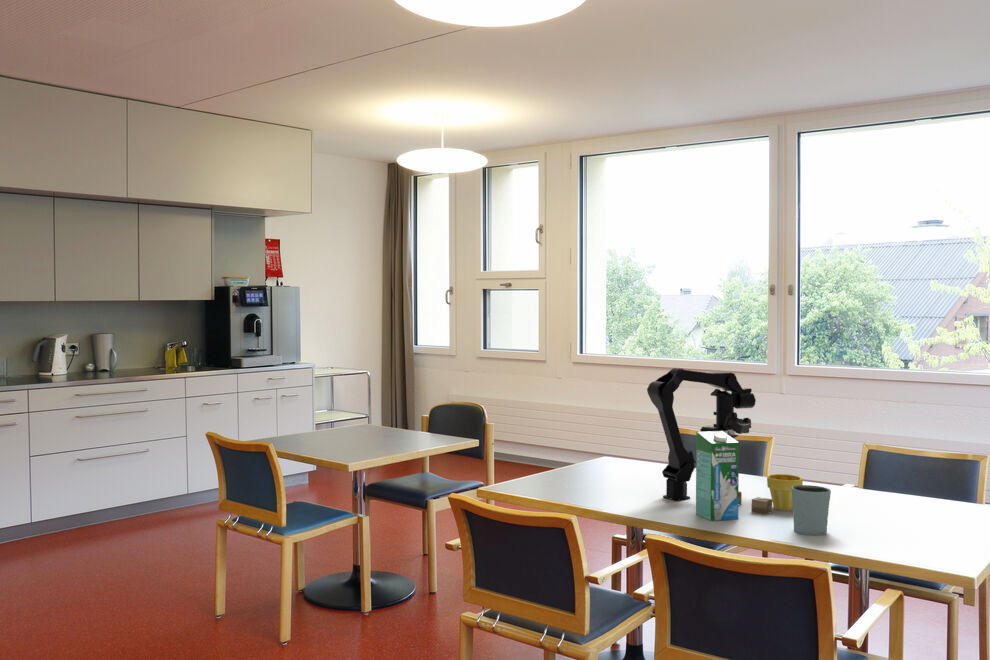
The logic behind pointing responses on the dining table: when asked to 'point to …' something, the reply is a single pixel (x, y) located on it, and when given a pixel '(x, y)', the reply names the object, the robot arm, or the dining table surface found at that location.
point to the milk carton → (717, 475)
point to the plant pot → (782, 489)
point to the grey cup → (810, 509)
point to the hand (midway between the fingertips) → (724, 455)
